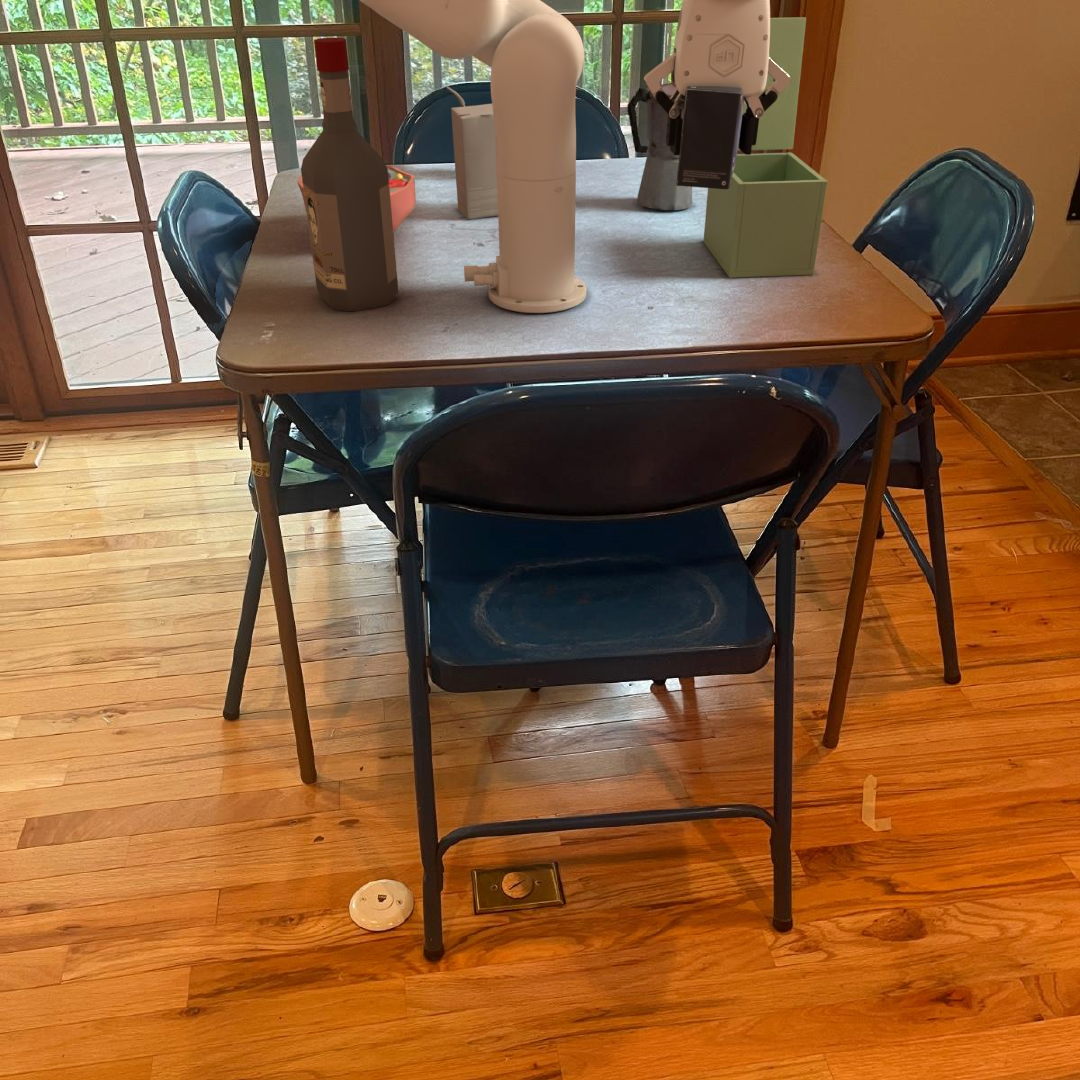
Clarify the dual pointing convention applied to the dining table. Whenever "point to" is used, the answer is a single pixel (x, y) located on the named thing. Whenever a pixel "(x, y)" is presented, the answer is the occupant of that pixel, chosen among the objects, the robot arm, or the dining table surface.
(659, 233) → the dining table surface
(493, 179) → the cosmetic box
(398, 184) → the cell model
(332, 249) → the liquor
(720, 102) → the small box
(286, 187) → the dining table surface
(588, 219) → the dining table surface
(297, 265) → the dining table surface
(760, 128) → the lid
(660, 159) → the moka pot
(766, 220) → the chest
